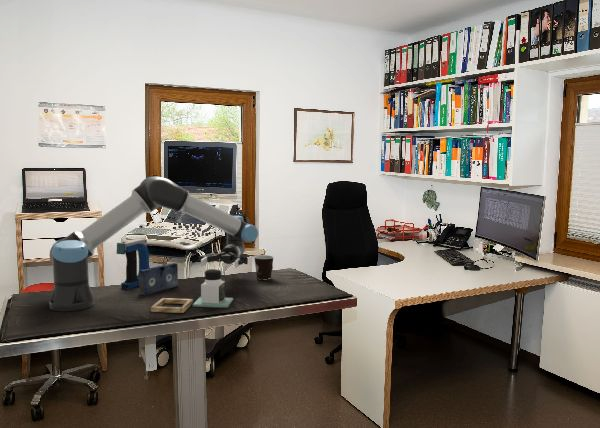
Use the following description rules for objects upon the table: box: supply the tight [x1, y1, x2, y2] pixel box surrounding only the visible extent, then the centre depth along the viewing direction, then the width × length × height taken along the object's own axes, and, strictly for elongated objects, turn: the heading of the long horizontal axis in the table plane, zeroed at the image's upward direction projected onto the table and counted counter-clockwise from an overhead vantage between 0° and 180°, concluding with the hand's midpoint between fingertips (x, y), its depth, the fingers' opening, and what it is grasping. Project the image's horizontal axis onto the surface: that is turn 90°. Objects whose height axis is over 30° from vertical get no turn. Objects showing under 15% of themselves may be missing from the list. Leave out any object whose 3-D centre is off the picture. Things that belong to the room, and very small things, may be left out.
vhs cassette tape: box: [138, 262, 179, 296], centre depth 208 cm, size 18×3×10 cm, turn 145°
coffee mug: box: [254, 254, 274, 279], centre depth 228 cm, size 12×9×10 cm
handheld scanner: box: [116, 238, 150, 290], centre depth 213 cm, size 5×16×20 cm, turn 158°
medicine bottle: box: [200, 268, 226, 304], centre depth 190 cm, size 7×7×12 cm
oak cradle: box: [150, 297, 194, 314], centre depth 185 cm, size 12×12×2 cm
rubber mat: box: [192, 296, 234, 308], centre depth 191 cm, size 13×10×1 cm
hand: (218, 263), depth 199 cm, fingers open, 13 cm apart
